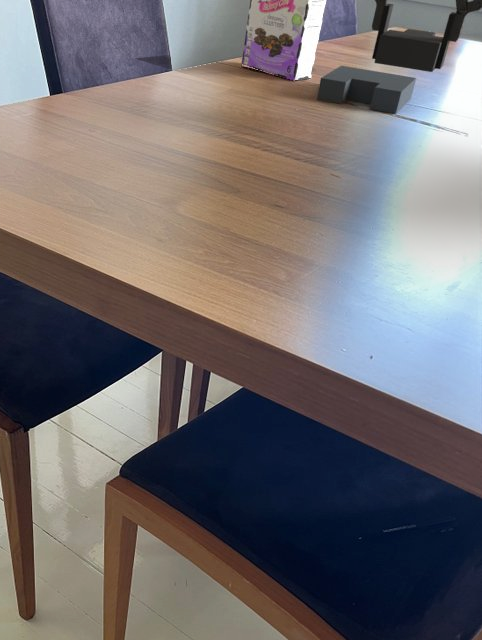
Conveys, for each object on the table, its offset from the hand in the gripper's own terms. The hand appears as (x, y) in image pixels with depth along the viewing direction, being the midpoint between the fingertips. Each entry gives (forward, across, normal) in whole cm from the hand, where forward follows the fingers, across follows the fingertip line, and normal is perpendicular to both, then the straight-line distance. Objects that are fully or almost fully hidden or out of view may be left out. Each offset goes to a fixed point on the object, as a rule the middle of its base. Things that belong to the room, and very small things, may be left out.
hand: (407, 62), depth 103 cm
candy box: (+11, -29, +36) cm, 47 cm away
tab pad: (0, 0, +2) cm, 2 cm away
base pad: (+11, -9, +27) cm, 30 cm away
